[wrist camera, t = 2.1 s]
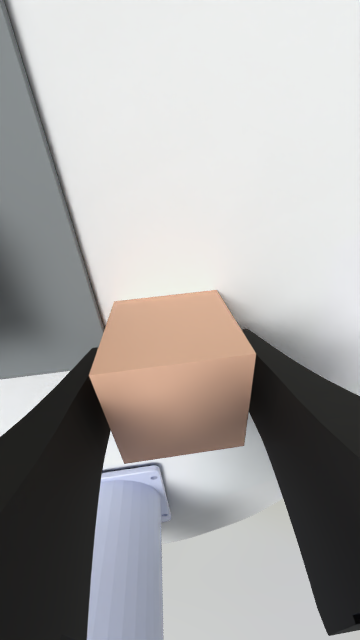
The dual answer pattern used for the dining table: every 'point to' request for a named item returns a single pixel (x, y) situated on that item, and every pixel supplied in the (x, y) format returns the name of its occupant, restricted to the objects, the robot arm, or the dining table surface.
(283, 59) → the dining table surface
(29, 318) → the mat
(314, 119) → the dining table surface
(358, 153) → the dining table surface
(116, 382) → the terracotta block
